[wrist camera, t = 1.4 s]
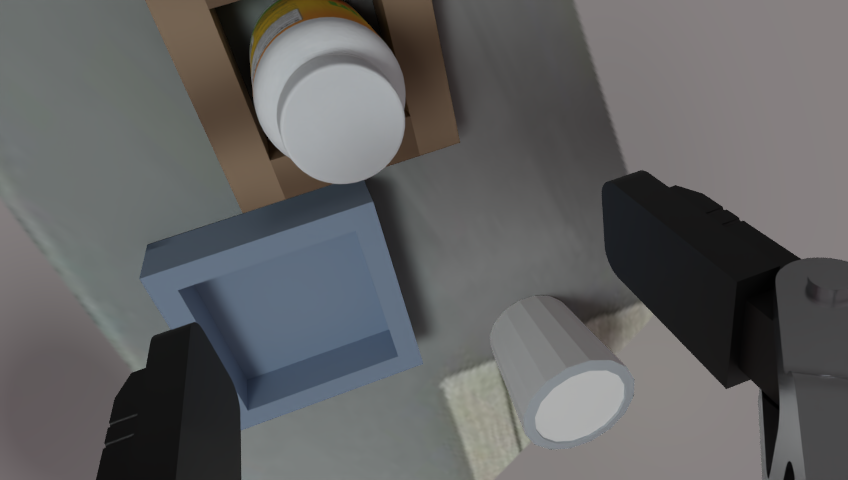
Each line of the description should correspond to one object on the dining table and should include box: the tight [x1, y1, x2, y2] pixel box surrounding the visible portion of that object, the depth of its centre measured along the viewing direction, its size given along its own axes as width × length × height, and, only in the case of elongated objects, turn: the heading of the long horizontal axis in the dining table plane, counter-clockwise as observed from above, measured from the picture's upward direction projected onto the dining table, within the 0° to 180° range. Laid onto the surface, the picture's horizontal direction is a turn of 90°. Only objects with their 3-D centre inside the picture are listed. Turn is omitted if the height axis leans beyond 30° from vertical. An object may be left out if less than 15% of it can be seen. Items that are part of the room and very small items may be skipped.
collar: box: [145, 0, 460, 213], centre depth 26 cm, size 10×10×2 cm
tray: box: [140, 180, 423, 430], centre depth 32 cm, size 11×11×3 cm
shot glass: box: [490, 295, 634, 449], centre depth 36 cm, size 7×7×7 cm
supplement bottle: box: [249, 0, 406, 184], centre depth 23 cm, size 5×5×10 cm
